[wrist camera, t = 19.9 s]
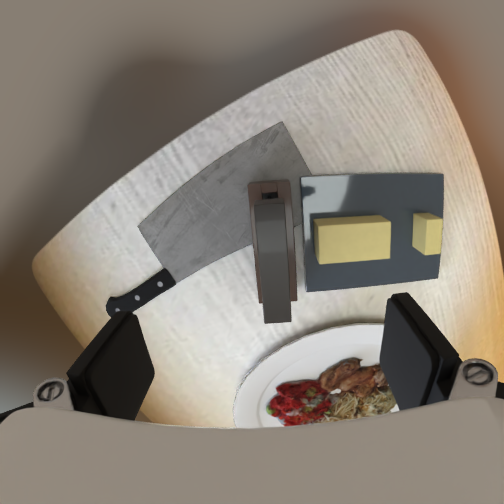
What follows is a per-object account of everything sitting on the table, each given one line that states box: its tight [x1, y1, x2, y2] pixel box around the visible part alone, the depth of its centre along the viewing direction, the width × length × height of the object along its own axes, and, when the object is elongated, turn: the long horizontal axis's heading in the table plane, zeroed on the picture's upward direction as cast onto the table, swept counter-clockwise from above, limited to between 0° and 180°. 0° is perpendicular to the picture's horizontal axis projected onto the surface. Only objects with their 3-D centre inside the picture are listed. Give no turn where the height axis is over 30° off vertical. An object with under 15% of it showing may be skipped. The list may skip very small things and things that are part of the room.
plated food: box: [234, 323, 400, 428], centre depth 36 cm, size 30×30×3 cm
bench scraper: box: [254, 194, 292, 324], centre depth 27 cm, size 2×10×9 cm, turn 6°
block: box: [247, 179, 297, 303], centre depth 29 cm, size 4×12×3 cm, turn 6°
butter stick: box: [313, 215, 391, 264], centre depth 28 cm, size 7×4×3 cm, turn 96°
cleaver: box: [106, 122, 312, 317], centre depth 31 cm, size 29×1×10 cm
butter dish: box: [299, 173, 444, 292], centre depth 30 cm, size 16×12×1 cm
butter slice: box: [412, 213, 443, 255], centre depth 27 cm, size 2×4×3 cm, turn 6°
